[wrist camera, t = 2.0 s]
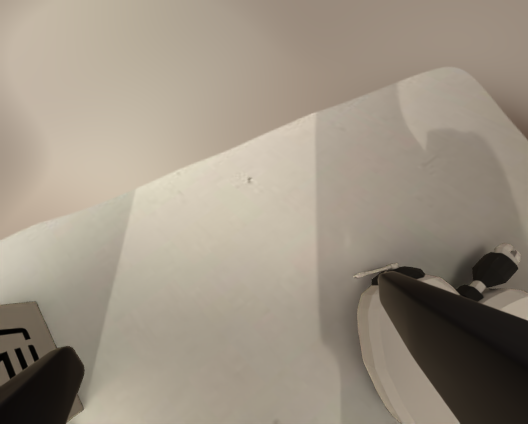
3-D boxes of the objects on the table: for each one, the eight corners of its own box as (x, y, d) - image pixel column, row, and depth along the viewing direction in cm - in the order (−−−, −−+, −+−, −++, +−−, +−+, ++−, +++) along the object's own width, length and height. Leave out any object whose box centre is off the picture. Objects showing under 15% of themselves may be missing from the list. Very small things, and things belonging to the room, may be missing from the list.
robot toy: (479, 241, 23) (330, 277, 21) (533, 230, 19) (350, 275, 17) (549, 387, 20) (379, 444, 18) (633, 416, 15) (420, 495, 14)
